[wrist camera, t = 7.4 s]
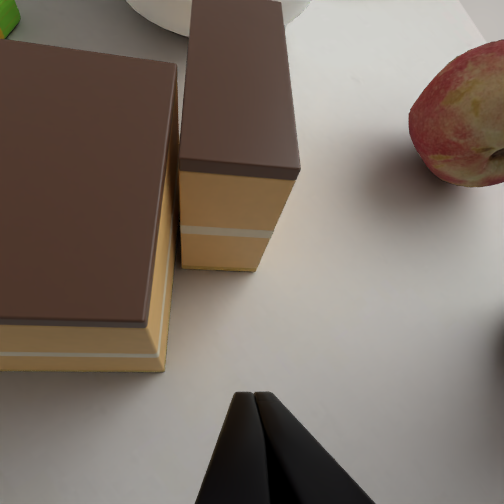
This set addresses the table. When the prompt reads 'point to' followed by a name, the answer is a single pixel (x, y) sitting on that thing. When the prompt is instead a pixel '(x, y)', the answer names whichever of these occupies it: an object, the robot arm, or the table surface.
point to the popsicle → (8, 17)
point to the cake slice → (235, 134)
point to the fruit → (464, 119)
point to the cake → (86, 209)
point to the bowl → (179, 12)
